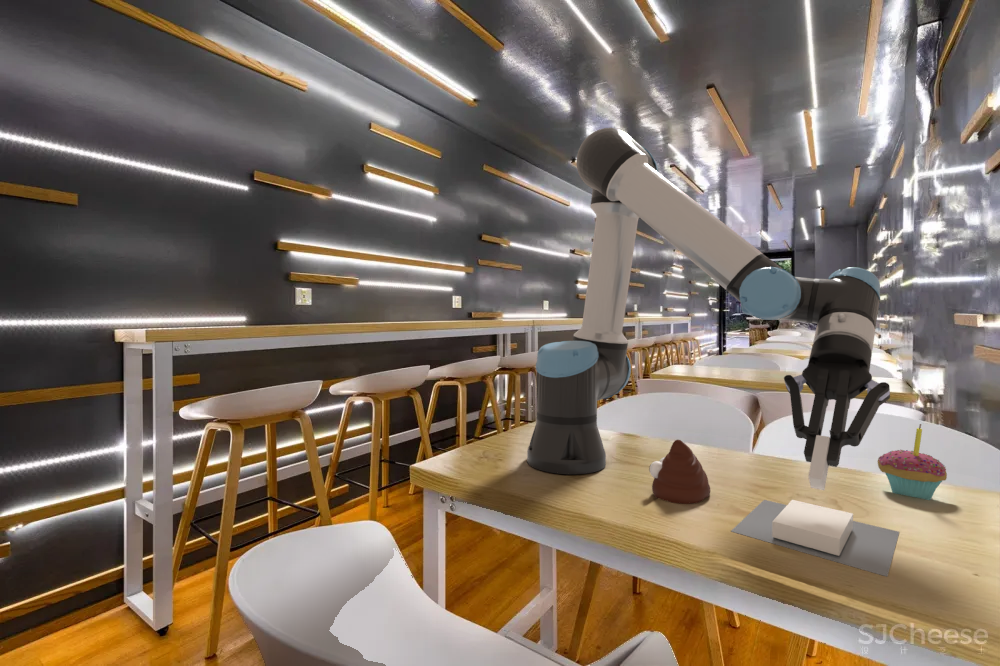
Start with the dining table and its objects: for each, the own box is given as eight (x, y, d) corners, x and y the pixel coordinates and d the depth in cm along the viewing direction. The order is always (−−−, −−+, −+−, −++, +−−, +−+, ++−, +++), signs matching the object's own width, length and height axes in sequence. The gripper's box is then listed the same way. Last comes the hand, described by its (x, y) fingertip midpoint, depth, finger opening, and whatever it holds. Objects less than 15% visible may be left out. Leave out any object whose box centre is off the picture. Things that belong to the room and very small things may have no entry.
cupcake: (960, 508, 73) (963, 428, 72) (895, 503, 74) (898, 425, 74) (923, 488, 81) (925, 416, 81) (865, 484, 83) (867, 414, 82)
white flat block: (791, 515, 68) (772, 538, 61) (792, 499, 68) (772, 521, 61) (852, 530, 64) (839, 557, 56) (853, 513, 64) (839, 538, 56)
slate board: (730, 535, 63) (730, 531, 63) (764, 503, 74) (764, 499, 74) (887, 581, 52) (887, 576, 52) (899, 536, 63) (899, 531, 63)
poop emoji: (693, 513, 71) (694, 449, 70) (639, 498, 76) (640, 439, 76) (719, 495, 78) (720, 437, 77) (668, 482, 84) (668, 429, 83)
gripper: (789, 330, 77) (755, 457, 65) (895, 332, 68) (878, 480, 56) (796, 361, 81) (765, 486, 69) (897, 367, 72) (881, 511, 60)
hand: (816, 483), depth 63 cm, fingers closed
